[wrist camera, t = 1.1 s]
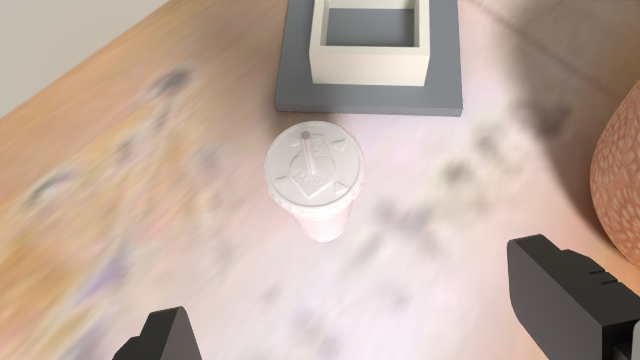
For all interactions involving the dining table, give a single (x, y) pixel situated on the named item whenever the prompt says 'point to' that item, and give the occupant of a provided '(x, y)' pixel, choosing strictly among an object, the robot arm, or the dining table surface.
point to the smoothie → (315, 176)
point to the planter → (620, 177)
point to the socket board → (371, 58)
